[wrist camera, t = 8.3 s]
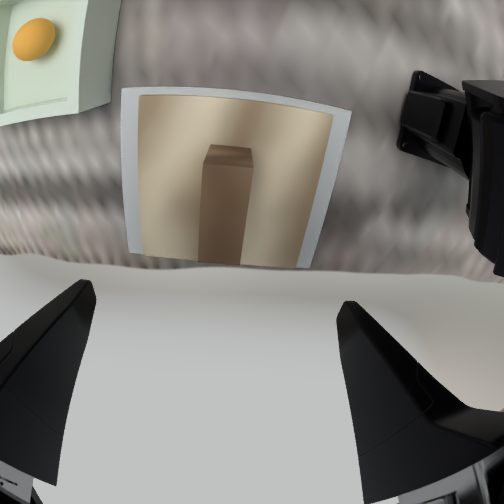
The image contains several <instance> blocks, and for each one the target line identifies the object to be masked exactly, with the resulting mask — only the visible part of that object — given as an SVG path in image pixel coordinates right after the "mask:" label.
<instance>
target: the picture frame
mask: <svg viewBox="0 0 504 504" xmlns="http://www.w3.org/2000/svg"><path fill="white" fill-rule="evenodd" d="M140 95H199V96H215V97H227V98H238V99H247V100H255V101H262V102H270V103H276V104H282V105H288V106H294V107H300V108H305V109H310V110H315V111H319V112H324V113H328V114H331V115H333V116H334V117H333V121H332V126H331V131H330V135H329V140H328V144H327V148H326V153H325V157H324V161H323V166H322V170H321V174H320V178H319V182H318V186H317V190H316V194H315V198H314V202H313V206H312V210H311V214H310V218H309V221H308V225H307V229H306V233H305V236H304V240H303V244H302V247H301V251H300V254H299V258H298V262H297V265H296V267H297V268H310V265H311V262H312V259H313V255H314V252H315V249H316V246H317V242H318V239H319V236H320V232H321V229H322V226H323V222H324V219H325V215H326V212H327V208H328V205H329V201H330V198H331V194H332V190H333V187H334V183H335V179H336V175H337V171H338V167H339V164H340V160H341V156H342V152H343V147H344V143H345V139H346V135H347V131H348V126H349V122H350V117H351V113H352V111H349V110H345V109H341V108H337V107H333V106H329V105H325V104H320V103H316V102H311V101H306V100H301V99H295V98H290V97H284V96H278V95H272V94H265V93H257V92H249V91H240V90H230V89H218V88H203V87H171V86H159V87H128V88H122V93H121V170H122V188H123V202H124V213H125V223H126V232H127V241H128V248H129V253H137V254H143V246H142V236H141V223H140V209H139V190H138V107H139V96H140Z"/></svg>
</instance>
